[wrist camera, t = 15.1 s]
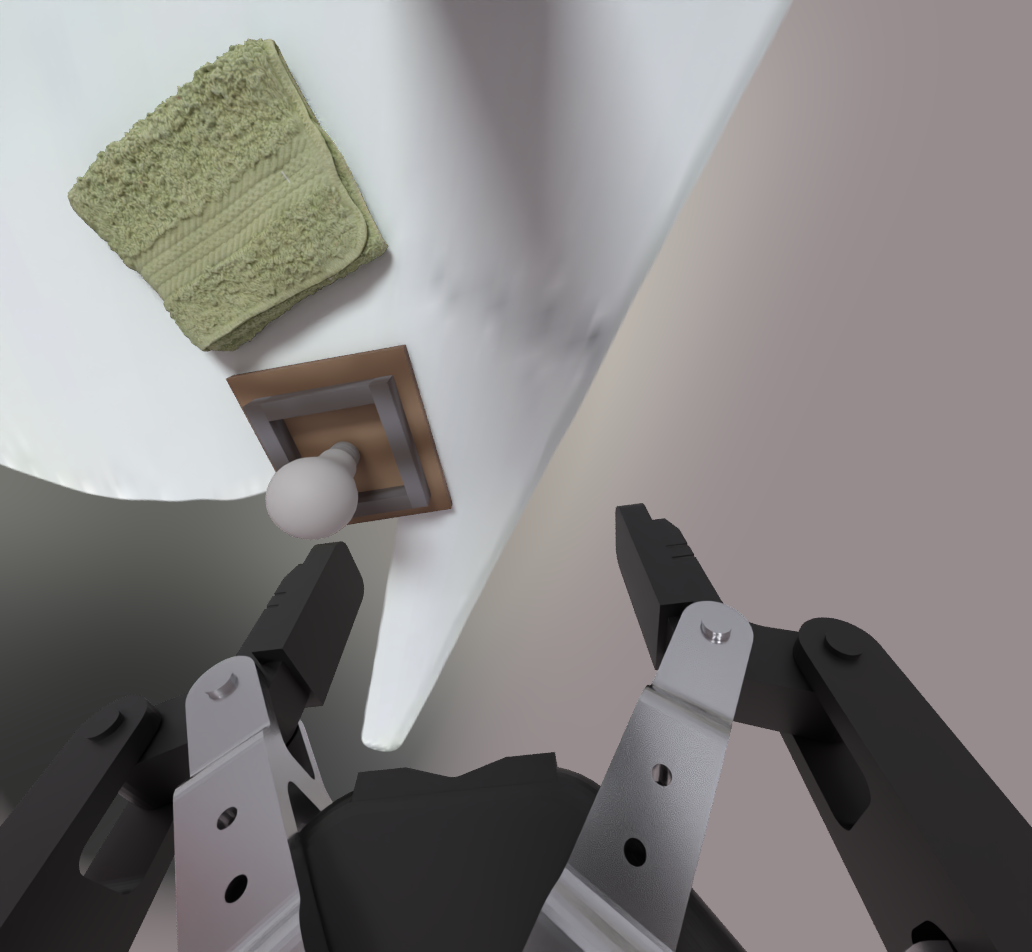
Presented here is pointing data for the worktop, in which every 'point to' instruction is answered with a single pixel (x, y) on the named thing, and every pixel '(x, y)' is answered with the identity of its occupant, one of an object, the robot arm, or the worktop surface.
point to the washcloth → (230, 199)
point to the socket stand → (352, 426)
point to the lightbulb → (315, 493)
